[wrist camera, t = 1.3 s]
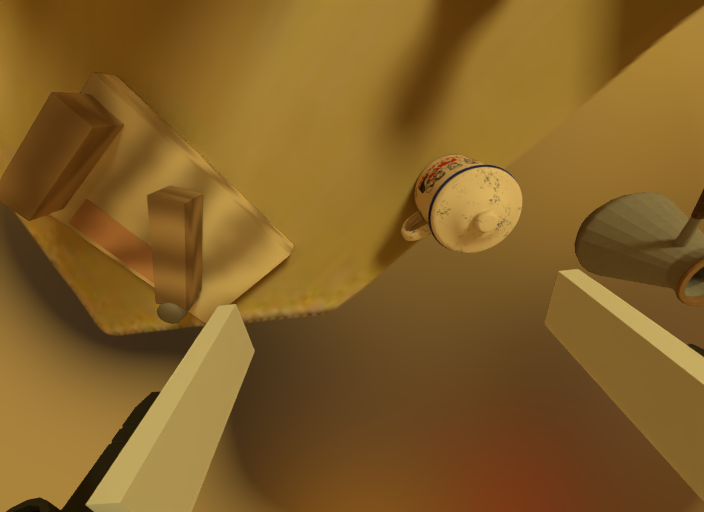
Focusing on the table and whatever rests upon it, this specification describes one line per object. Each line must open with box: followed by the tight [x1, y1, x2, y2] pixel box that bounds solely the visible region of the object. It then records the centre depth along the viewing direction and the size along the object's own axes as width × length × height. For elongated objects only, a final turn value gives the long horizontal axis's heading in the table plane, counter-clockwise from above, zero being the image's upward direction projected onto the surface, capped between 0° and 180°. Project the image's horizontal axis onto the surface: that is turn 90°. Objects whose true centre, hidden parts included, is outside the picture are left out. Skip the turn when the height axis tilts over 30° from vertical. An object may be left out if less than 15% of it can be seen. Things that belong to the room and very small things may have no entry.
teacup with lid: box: [401, 155, 522, 253], centre depth 30 cm, size 12×9×12 cm
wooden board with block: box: [0, 72, 294, 324], centre depth 34 cm, size 26×18×7 cm
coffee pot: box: [575, 190, 704, 306], centre depth 29 cm, size 21×12×15 cm, turn 32°
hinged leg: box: [147, 186, 203, 324], centre depth 33 cm, size 16×4×4 cm, turn 165°
